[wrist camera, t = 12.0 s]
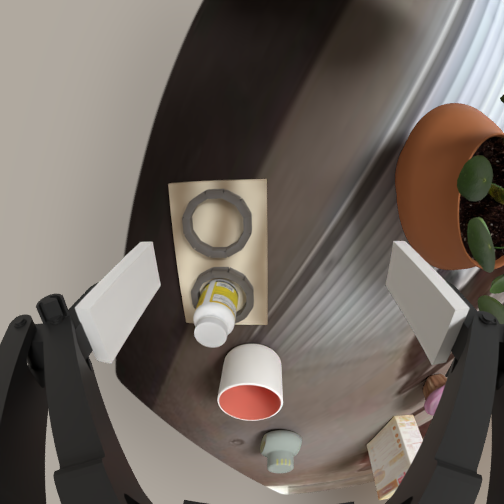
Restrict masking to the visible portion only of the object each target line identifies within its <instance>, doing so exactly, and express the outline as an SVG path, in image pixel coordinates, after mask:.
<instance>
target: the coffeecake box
mask: <svg viewBox="0 0 504 504" xmlns="http://www.w3.org/2000/svg"><path fill="white" fill-rule="evenodd" d="M422 441H423V440H422V437H421V434H420V432H419V429H418V427H417V424H416V422H415V419H414V417H413V415H404V416H394V417H393V418H392V419H391V420H390V421H389V422H388V423H387V425H386V426H385V427H384V428H383V429H382V430H381V431H380V432H379V433H378V434H377V435H376V436H375V437H374V438H373V439H372V440H371V441H370V442H369V443H368V444H367V449H368V453H369V457H370V461H371V466H372V470H373V475H374V479H375V484H376V489H377V493H378V498H379V500H383V499H389V498H391V496H392V495H393V494H394V492H395V491H396V489H397V488H398V486H399V484H400V483H401V481H402V479H403V478H404V476H405V474H406V472H407V471H408V469H409V467H410V465H411V463H412V461H413V460H414V458H415V456H416V454H417V452H418V450H419V448H420V446H421V444H422Z"/></svg>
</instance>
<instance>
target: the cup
mask: <svg viewBox="0 0 504 504" xmlns="http://www.w3.org/2000/svg"><path fill="white" fill-rule="evenodd" d="M217 402H218V405H219V407H220V408H221V409H222V410H223V411H224V412H225V413H226V414H228V415H230V416H232V417H235V418H238V419H242V420H251V421H254V420H262V419H266V418H269V417H272V416H273V415H275V414H276V413H278V412H279V411H280V409H281V408H282V405H283V392H282V368H281V361H280V358H279V356H278V355H277V354H276V353H275V352H274V351H273V350H272V349H270V348H268V347H266V346H264V345H260V344H243V345H240V346H237V347H235V348H234V349H232V350H231V351H230V352H229V353H228V354H227V356H226V357H225V360H224V365H223V370H222V376H221V381H220V387H219V392H218V397H217Z"/></svg>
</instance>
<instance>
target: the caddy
mask: <svg viewBox="0 0 504 504" xmlns="http://www.w3.org/2000/svg"><path fill="white" fill-rule="evenodd" d="M168 187H169V198H170V209H171V219H172V228H173V237H174V245H175V253H176V260H177V268H178V275H179V281H180V288H181V294H182V301H183V307H184V313H185V318H186V323H194V321H193V316H194V312H195V310H196V307H197V304H198V302H199V299H200V296H201V293H202V291H203V289H204V287H205V285H206V284H207V283H208V282H210V281H212V280H215V279H223V280H226V281H229V282H230V283H232V284H233V285H234V286H235V287H236V289H237V291H238V305H237V312H236V319H235V325H267V179H244V180H214V181H194V182H178V183H170V184H168Z"/></svg>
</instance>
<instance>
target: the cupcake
mask: <svg viewBox="0 0 504 504" xmlns="http://www.w3.org/2000/svg"><path fill="white" fill-rule="evenodd" d="M446 381H447V378H446V377H444V376H443V375H442V374H437V375H432V376H429V377H428V378H427V380H426V382H425V385H424V387H423V393H424V396H425V400H426V401H425V404H424V407H425V411H426V412H427V413H428V414H430V415H434V414H435V411H436V409H437V406H438V404H439V401H440V398H441V395H442V393H443V390H444V387H445V384H446Z"/></svg>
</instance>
